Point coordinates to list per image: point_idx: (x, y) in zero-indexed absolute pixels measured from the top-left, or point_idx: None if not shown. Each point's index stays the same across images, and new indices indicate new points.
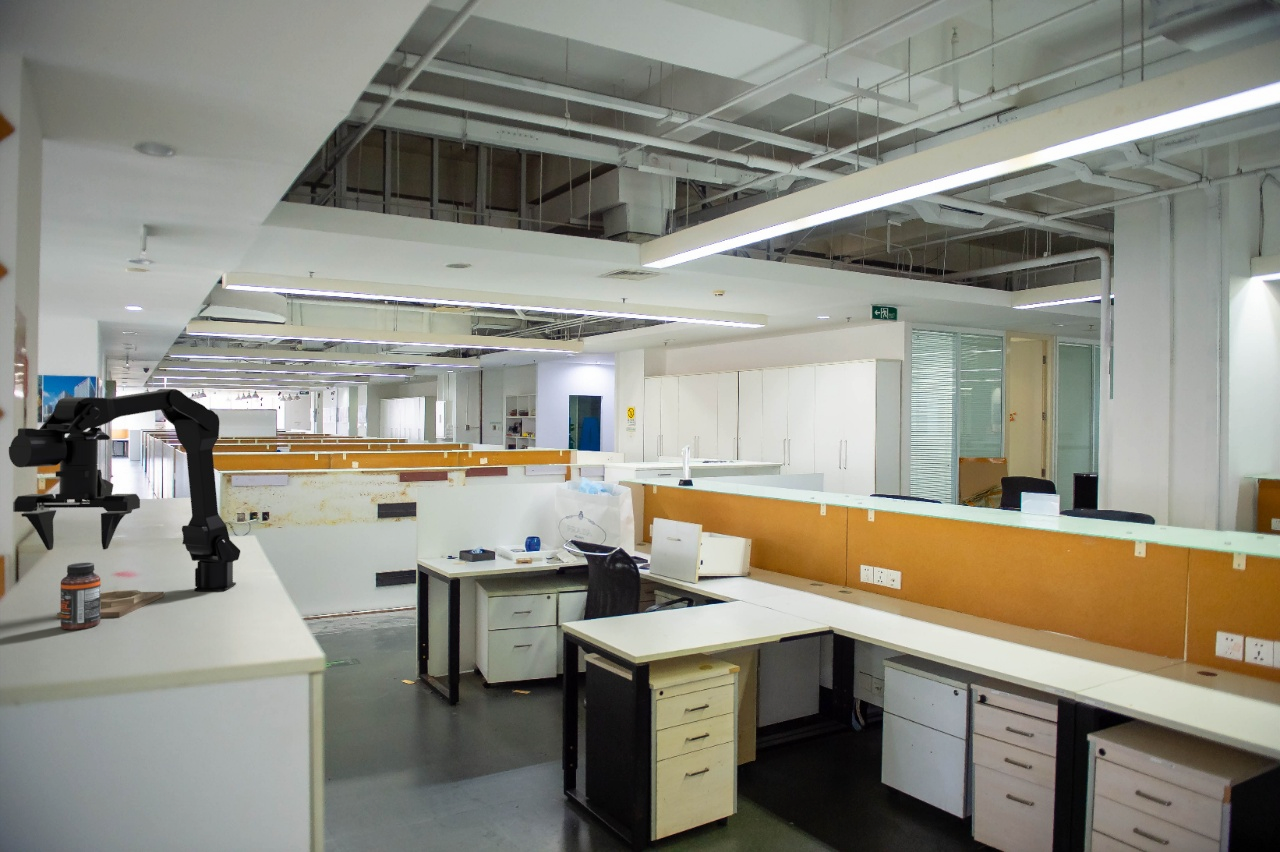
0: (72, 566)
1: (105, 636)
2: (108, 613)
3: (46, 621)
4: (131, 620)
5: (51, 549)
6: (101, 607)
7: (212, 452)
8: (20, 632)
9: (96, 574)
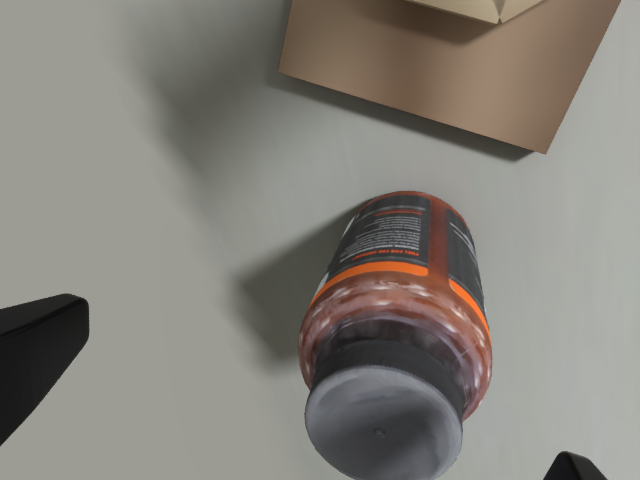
0: (344, 470)
1: (510, 414)
2: (494, 137)
3: (261, 111)
4: (593, 227)
5: (88, 316)
6: (450, 13)
7: None
8: (236, 252)
9: (470, 359)
